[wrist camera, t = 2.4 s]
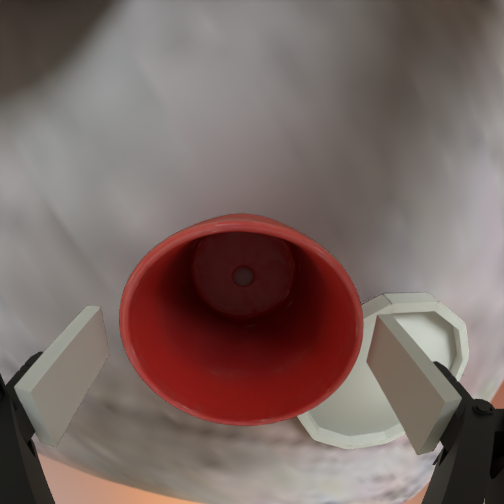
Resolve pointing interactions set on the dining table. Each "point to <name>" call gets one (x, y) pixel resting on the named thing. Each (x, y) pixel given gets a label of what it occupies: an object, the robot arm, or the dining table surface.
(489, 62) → the dining table surface
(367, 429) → the saucer
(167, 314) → the flower pot
